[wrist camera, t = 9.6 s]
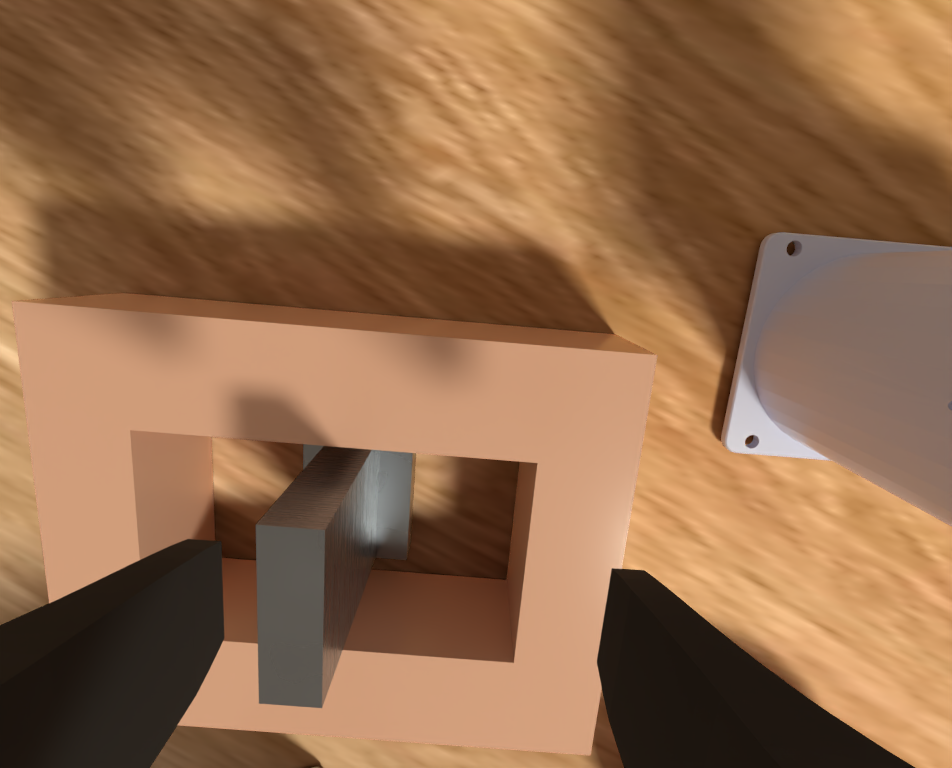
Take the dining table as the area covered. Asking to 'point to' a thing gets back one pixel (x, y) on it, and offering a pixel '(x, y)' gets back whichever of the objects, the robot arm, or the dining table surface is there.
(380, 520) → the brushed metal prism
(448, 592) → the holder block
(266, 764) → the dining table surface
